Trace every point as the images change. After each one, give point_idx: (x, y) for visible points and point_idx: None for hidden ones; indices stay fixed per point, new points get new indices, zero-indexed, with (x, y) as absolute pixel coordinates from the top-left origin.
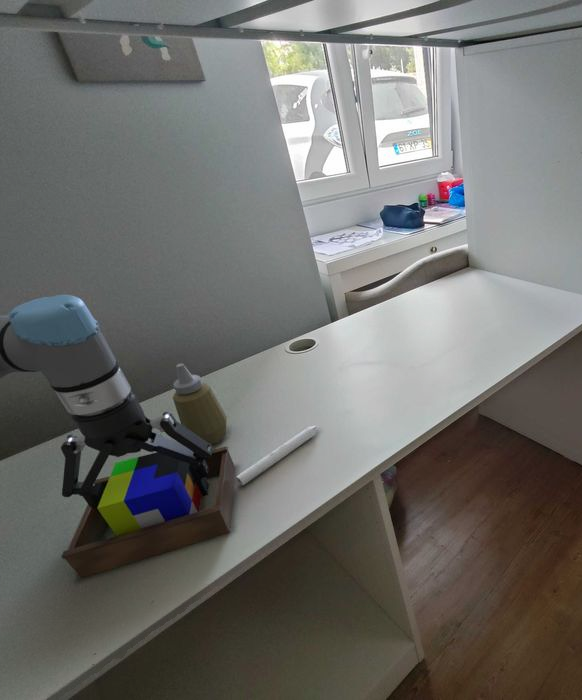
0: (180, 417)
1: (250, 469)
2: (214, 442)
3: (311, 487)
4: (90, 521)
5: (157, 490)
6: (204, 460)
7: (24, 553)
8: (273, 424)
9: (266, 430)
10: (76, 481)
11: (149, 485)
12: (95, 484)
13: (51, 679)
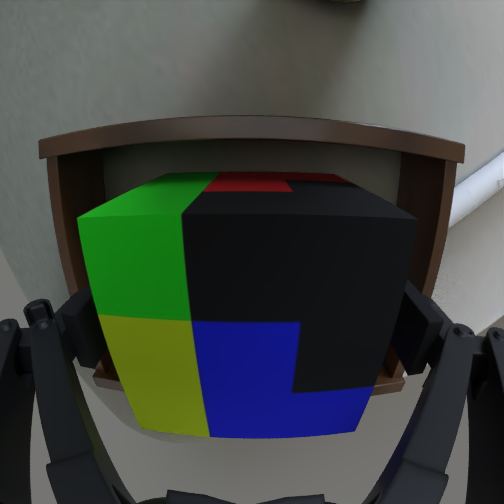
0: None
1: (461, 213)
2: (352, 1)
3: (501, 286)
4: (86, 281)
5: (308, 432)
6: (451, 323)
7: (9, 236)
8: (477, 30)
9: (467, 39)
10: (16, 345)
11: (280, 414)
12: (65, 321)
13: (166, 437)
